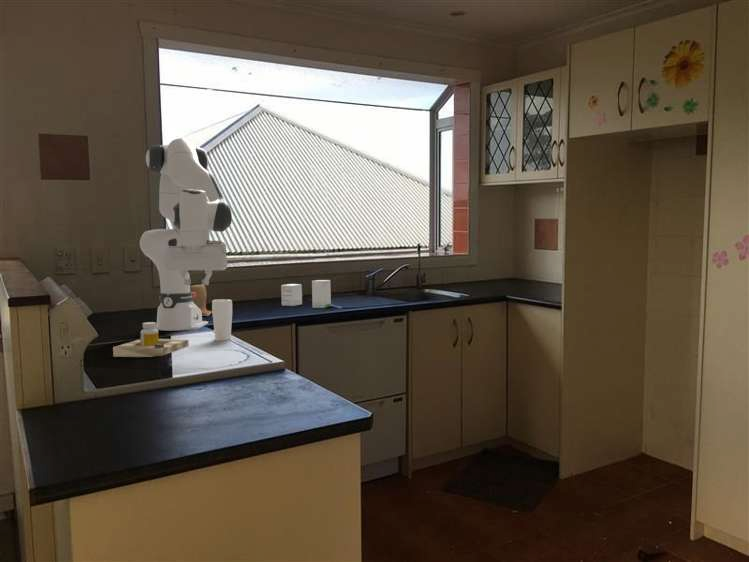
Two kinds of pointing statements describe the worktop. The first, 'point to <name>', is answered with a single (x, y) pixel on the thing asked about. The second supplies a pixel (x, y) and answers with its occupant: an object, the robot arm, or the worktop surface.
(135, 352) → the cream square tray
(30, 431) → the worktop surface
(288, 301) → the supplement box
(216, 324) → the drinking glass
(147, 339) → the supplement bottle
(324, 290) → the skincare box
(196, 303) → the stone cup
